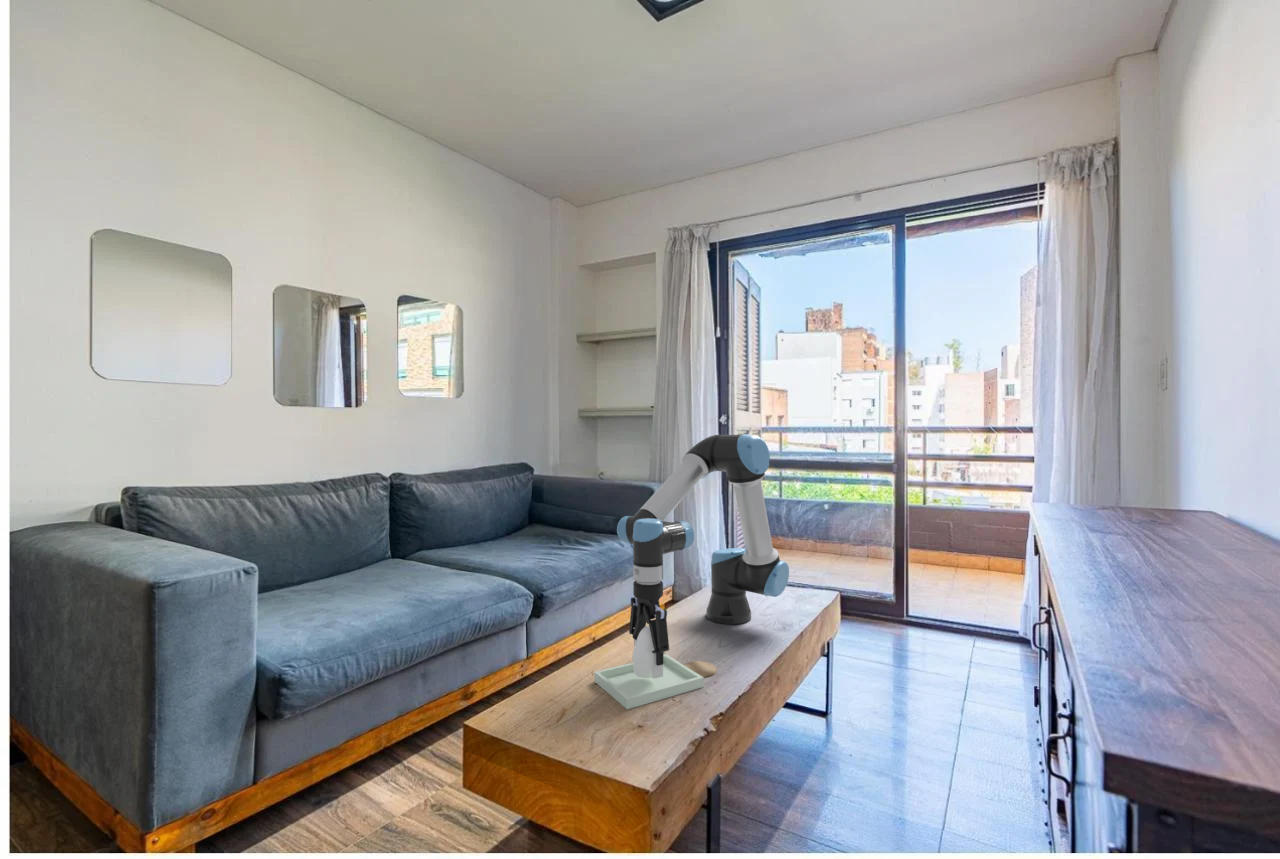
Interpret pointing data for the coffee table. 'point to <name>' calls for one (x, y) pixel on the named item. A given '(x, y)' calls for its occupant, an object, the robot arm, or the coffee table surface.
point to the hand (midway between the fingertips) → (648, 670)
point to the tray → (648, 683)
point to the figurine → (643, 654)
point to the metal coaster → (702, 668)
